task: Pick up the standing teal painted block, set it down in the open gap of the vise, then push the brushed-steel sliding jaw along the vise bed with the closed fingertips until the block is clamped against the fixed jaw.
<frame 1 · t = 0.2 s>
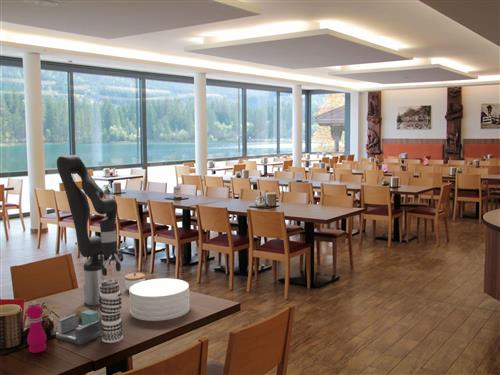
hand: (111, 273, 265), 17 cm above the table, tool pointing down, fingers open, 8 cm apart
sliding jaw: (68, 323, 234), point 5 cm above the table, slide at 0.0 cm
pepper mill: (37, 350, 220), on the table
vise: (78, 336, 232), on the table
plate stack: (160, 310, 262), on the table
teal block: (90, 327, 242), on the table
lidded jar: (135, 290, 294), on the table
bread roll: (82, 320, 251), on the table
white patterned cylinder: (112, 339, 229), on the table
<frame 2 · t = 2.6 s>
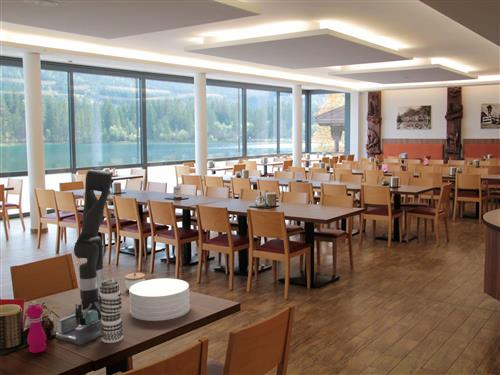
hand: (91, 322, 242), 2 cm above the table, tool pointing down, fingers open, 8 cm apart
nothing on the table moved.
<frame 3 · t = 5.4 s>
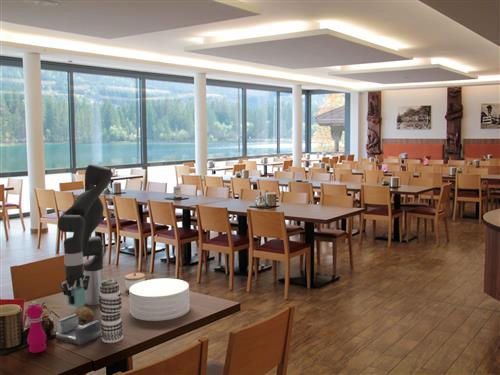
hand: (76, 302, 230), 15 cm above the table, tool pointing down, fingers closed on teal block, 4 cm apart
teal block: (76, 304, 230), point 14 cm above the table, touching gripper
everything else where it was.
when the fingers open (3 cm above the table, at t = 7.8 s): teal block stays where it is, resting on vise.
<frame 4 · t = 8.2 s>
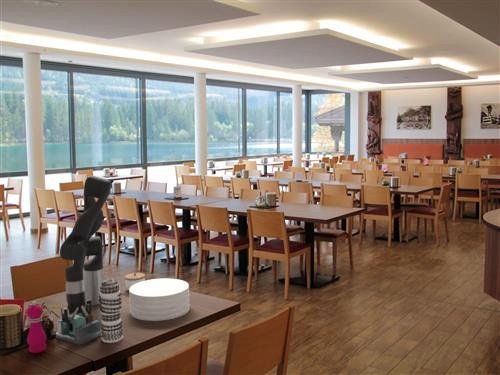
hand: (77, 328, 231), 4 cm above the table, tool pointing down, fingers open, 7 cm apart
teal block: (77, 333, 231), point 1 cm above the table, touching vise
everything else where it was.
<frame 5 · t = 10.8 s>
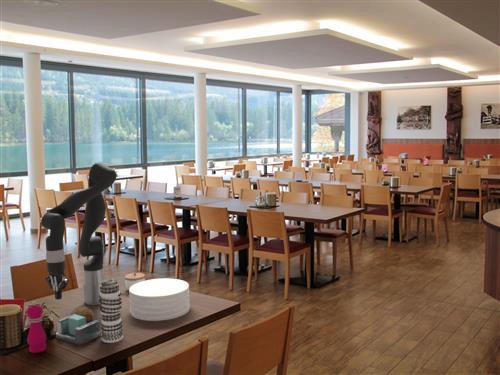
hand: (58, 298, 236), 15 cm above the table, tool pointing down, fingers closed
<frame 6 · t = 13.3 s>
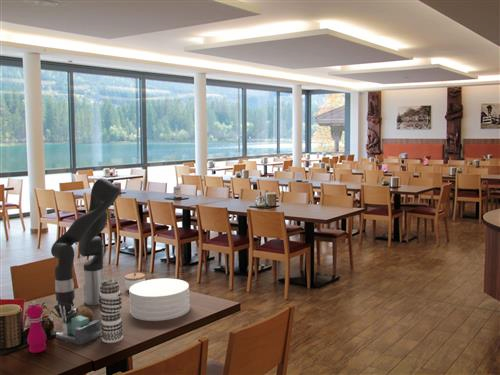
hand: (67, 327, 235), 3 cm above the table, tool pointing down, fingers closed
sliding jaw: (73, 325, 232), point 5 cm above the table, slide at 3.7 cm, touching hand, teal block
teal block: (81, 334, 230), point 2 cm above the table, touching sliding jaw, vise
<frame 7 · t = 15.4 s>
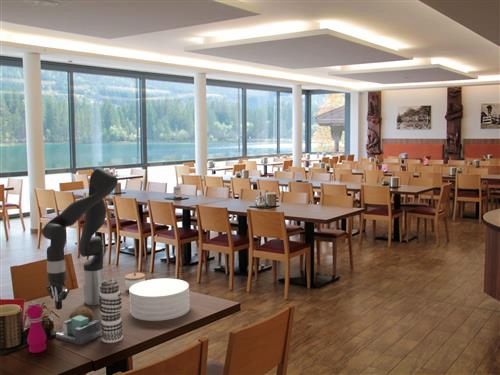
hand: (58, 308, 236), 10 cm above the table, tool pointing down, fingers closed
sliding jaw: (73, 325, 232), point 5 cm above the table, slide at 3.7 cm
teal block: (80, 334, 230), point 1 cm above the table, touching vise
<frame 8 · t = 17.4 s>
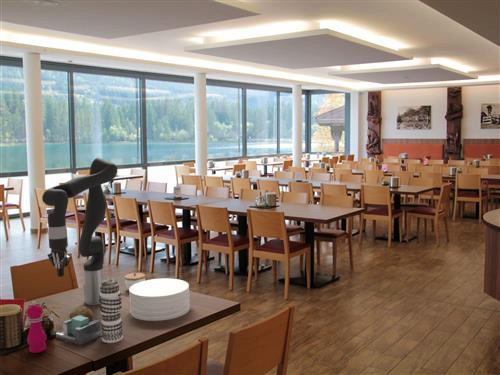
hand: (60, 276, 233), 25 cm above the table, tool pointing down, fingers closed
at the end: sliding jaw slide at 3.7 cm; teal block 1.1 cm from the target spot, point 1.5 cm above the table; teal block tilted 0° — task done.
